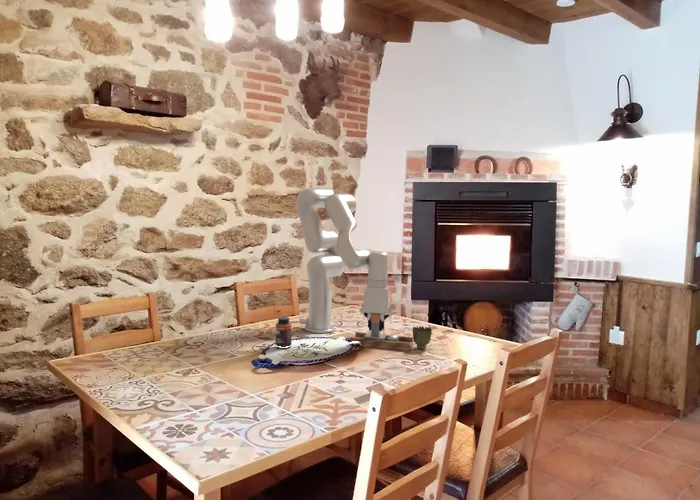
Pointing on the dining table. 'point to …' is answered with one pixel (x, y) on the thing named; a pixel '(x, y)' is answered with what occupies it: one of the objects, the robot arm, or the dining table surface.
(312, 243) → the robot arm
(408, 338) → the board
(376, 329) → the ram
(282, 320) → the supplement bottle
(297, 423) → the dining table surface
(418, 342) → the cup
